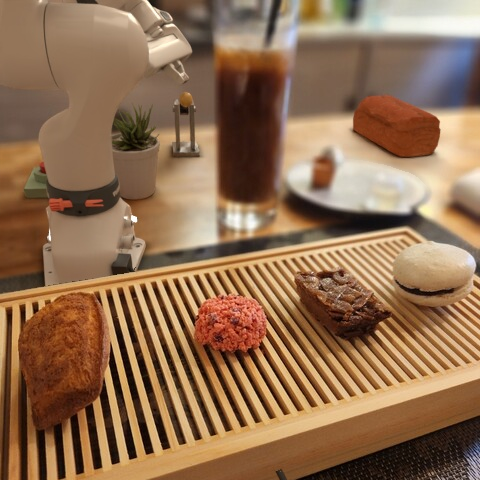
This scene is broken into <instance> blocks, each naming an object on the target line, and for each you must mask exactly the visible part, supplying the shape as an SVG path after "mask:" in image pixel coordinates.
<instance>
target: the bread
mask: <svg viewBox="0 0 480 480" xmlns="http://www.w3.org/2000/svg"><path fill="white" fill-rule="evenodd" d="M440 125H441V121H440V119H439V118H438V116H436V115H434V114H432V113H430V112H428V111H426V110H423V109H420V107H418V106H415V105H413V104H411V103H408V102H405V101H404V100H401V99H398V98H397V97H394V96H393V95H390V94H381V95H369V96H366V97H364V98H363V99H362V100H360V102H359V104H358V106H357V107H356V109H355V110H354V112H353V117H352V129H353V131H355V132H356V133H358V134H360V135H361V136H363V137H364V138H365V139H368V140H369V141H371V142H373V143H375V144H377V145H378V146H380V147H381V148H383V149H385V150H387V151H388V152H390V153H392V154H393V155H394V156H398V157H401V158H413V157H420V156H427V155H431V154H434V152H435V150H436V149H437V148H438V147H439V146H438V145H439V142H440V139H441V131H442V130H441V127H440Z"/></svg>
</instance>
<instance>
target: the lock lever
mask: <svg viewBox="0 0 480 480" xmlns="http://www.w3.org/2000/svg"><path fill="white" fill-rule="evenodd" d="M192 102H194V99H193V96H192V94H191V93H189V92H187V91H184V92H182V93H180V95H179V98H178V103H179V116H189V115H190V113H189V106H191V104H192Z"/></svg>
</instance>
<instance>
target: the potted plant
mask: <svg viewBox="0 0 480 480" xmlns="http://www.w3.org/2000/svg"><path fill="white" fill-rule="evenodd" d="M131 104H132V107H133V110H134V114H135V121H134V119H133V117H132V115H131V114H130V113H129V112H128V111H124V110H123V109H121V112H122V113H123V114H124V115H125V116H126V118H127V119H128V121H129V123H128V122H127V121H126V120H125V118H124V117H123V114H122V113H121V112H120V110H119V108H118V109H117V113H119V116H120V118H121V119H118V118H116V116H115V117H114V120H113V126H115V128H116V129H118V131H119V133H113V134H112V154H113V164H114V171H115V173H116V174H117V176H118V180H119V183H120V197H121V198H122V199H125V200H143V199H147V198H149V197H151V196H152V195H153V194H154V193H155V191H156V186H157V185H156V183H157V173H158V172H157V171H158V158H159V157H158V156H159V151H160V144H161V143H160V140H159V138H158V137H159V136H160V133H158V134H157V135H156V136H154V135H152V133H153V132H154V131H155V129H157V124H155V125H154V126H153V127H150V129H149V130H148V126H149V123H150V118H151V112H152V109H153V103H152V104H151V107H150V108H149V110H148V114H147V117H146V111H144V112H143V115H142V105H141V106H140V105H138V110H139V113H138V110H137V109H136V107H135V105H134V104H133V102H131Z"/></svg>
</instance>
